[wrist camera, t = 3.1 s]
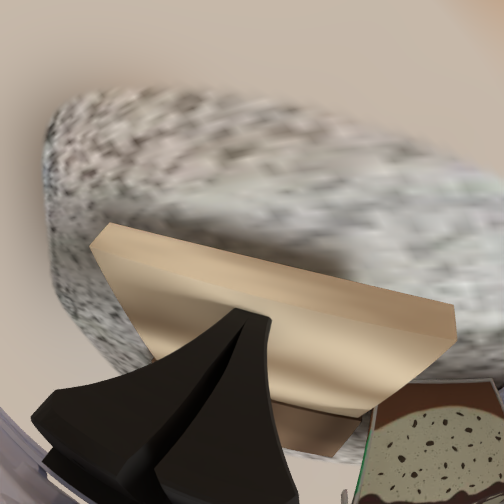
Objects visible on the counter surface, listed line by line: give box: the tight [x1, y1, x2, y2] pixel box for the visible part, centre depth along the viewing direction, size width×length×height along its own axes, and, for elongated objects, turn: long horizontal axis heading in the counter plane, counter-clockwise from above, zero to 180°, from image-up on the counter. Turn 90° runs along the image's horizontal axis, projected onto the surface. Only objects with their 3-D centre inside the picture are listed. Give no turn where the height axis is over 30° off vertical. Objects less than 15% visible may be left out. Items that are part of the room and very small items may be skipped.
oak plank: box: [89, 223, 457, 418], centre depth 13 cm, size 11×14×2 cm
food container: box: [341, 378, 504, 504], centre depth 12 cm, size 12×6×10 cm, turn 92°
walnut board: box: [152, 357, 362, 457], centre depth 19 cm, size 15×6×2 cm, turn 84°
